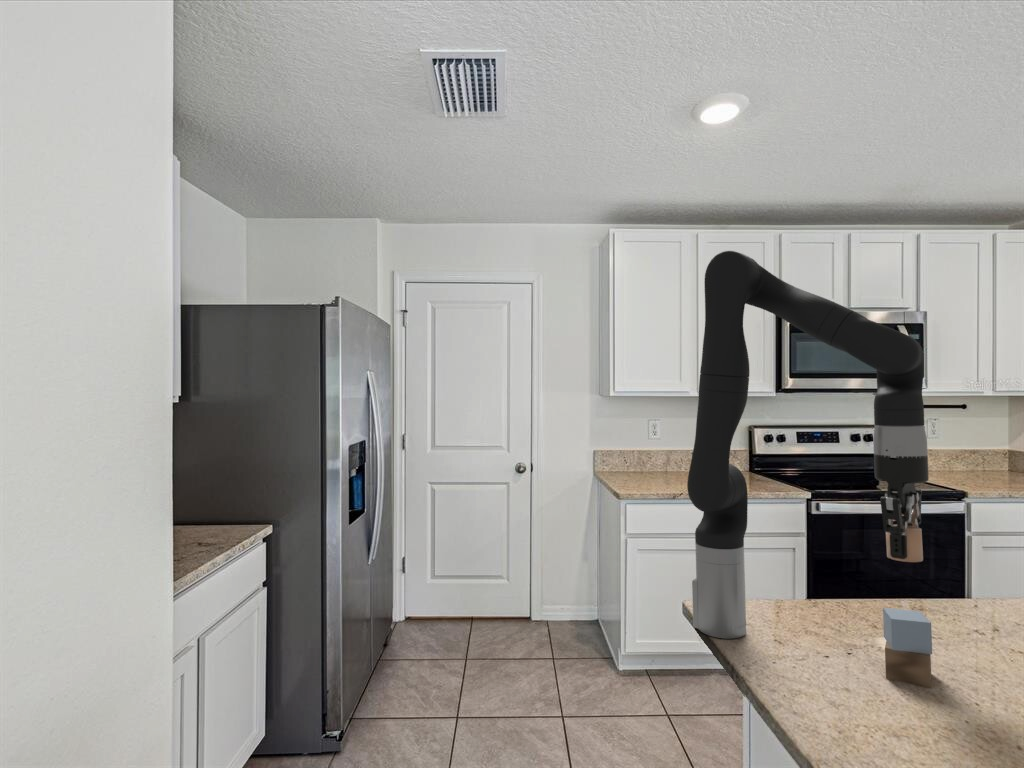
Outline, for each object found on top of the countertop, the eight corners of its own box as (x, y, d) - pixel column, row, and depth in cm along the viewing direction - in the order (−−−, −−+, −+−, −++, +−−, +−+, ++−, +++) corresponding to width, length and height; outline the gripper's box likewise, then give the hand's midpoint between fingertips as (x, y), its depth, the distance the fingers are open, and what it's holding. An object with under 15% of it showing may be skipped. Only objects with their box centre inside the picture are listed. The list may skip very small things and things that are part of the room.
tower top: (892, 649, 95) (891, 618, 95) (883, 636, 100) (882, 607, 100) (932, 654, 93) (931, 622, 93) (921, 641, 98) (920, 611, 98)
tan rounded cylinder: (882, 558, 97) (881, 528, 97) (892, 552, 100) (891, 523, 101) (918, 563, 93) (916, 532, 94) (927, 557, 97) (925, 527, 97)
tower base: (885, 678, 96) (884, 647, 96) (888, 664, 100) (887, 635, 101) (930, 688, 92) (929, 656, 92) (931, 673, 97) (930, 643, 97)
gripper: (887, 448, 105) (891, 543, 104) (860, 454, 95) (864, 558, 95) (938, 450, 99) (942, 551, 99) (914, 457, 90) (918, 568, 89)
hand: (903, 554), depth 97 cm, fingers closed on tan rounded cylinder, 5 cm apart
